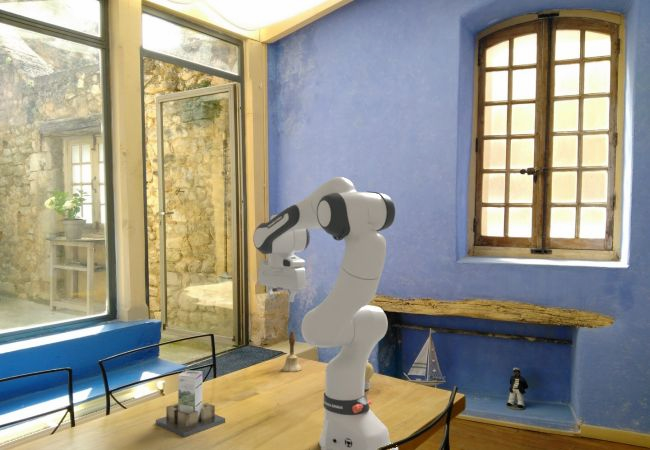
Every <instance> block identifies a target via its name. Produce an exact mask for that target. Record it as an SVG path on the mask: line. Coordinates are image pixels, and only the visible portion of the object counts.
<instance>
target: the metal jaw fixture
mask: <svg viewBox="0 0 650 450" xmlns="http://www.w3.org/2000/svg"><path fill="white" fill-rule="evenodd" d="M165 409H166V415H165V416H163V417H160V418H158V419H155V425H157V426H160V427H161V428H163V429H166V430H168V431H170V432H172V433H174V434H176V435H179V436H180V437H183V438H186V437H189V436H191V435H194V434H197V433H199V432H203V431H205V430H208V429H211V428H213V427H216V426H218V425H222V424H225V423H226V418H225V417H223V416H221V415H218V414H216V413H215V412H216V411H215V409H216V406H215V405H214V404H211V403H209V402H203V400H202V408H201V418H200V419H199V420H198V411H196V410H195V411H192V412H189V413H186V412H183V411H179V412H178V402H177V403H174V404H171V405H169V406H166V408H165Z"/></svg>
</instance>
